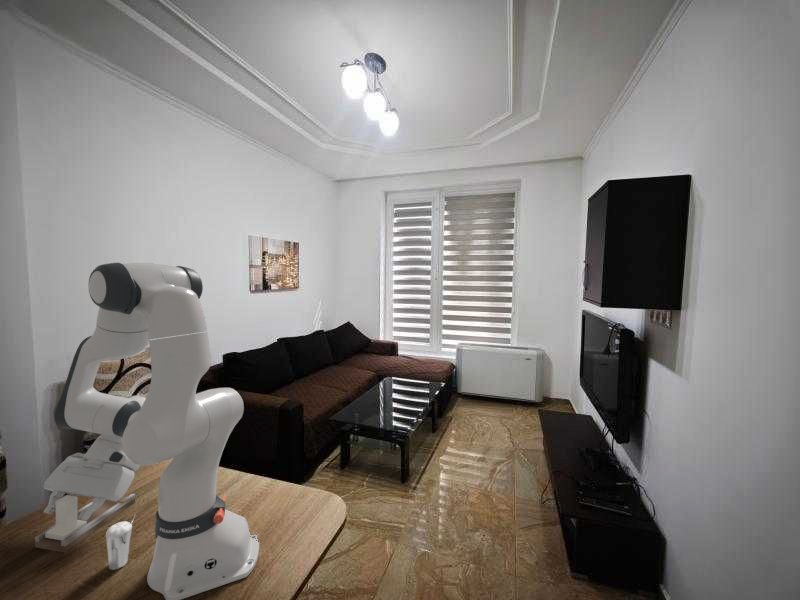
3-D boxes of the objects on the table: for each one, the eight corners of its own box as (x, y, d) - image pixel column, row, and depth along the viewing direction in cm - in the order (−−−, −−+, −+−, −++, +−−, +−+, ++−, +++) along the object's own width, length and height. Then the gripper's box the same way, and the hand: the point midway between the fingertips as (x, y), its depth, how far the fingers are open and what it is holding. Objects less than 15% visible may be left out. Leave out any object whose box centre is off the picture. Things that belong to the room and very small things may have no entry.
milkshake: (139, 559, 77) (140, 518, 76) (109, 576, 72) (110, 532, 72) (130, 550, 79) (131, 509, 79) (101, 565, 75) (102, 522, 74)
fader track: (110, 498, 96) (110, 489, 96) (135, 502, 95) (135, 493, 95) (34, 547, 79) (35, 536, 78) (64, 552, 78) (64, 541, 77)
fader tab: (68, 522, 84) (68, 491, 84) (86, 525, 84) (87, 494, 83) (45, 537, 79) (45, 504, 79) (64, 540, 79) (64, 507, 78)
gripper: (63, 447, 89) (16, 507, 80) (132, 457, 87) (92, 520, 77) (80, 455, 94) (38, 512, 84) (146, 465, 91) (110, 525, 82)
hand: (65, 516), depth 81 cm, fingers open, 8 cm apart
